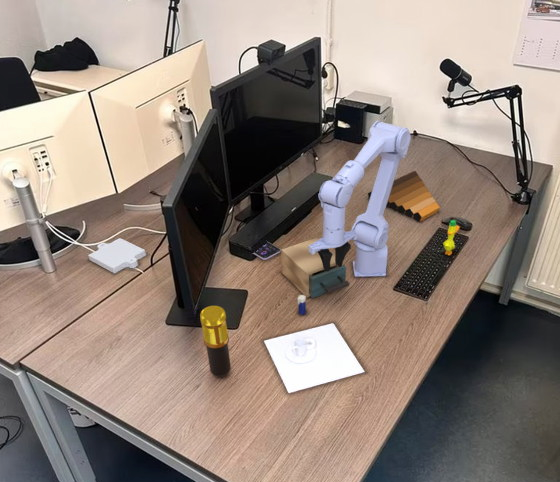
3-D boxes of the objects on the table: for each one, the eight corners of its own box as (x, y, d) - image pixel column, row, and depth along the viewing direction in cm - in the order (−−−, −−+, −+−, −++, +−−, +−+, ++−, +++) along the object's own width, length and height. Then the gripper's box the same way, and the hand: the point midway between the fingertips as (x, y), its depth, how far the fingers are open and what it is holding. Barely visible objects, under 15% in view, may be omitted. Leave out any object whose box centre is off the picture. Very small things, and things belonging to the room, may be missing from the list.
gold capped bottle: (185, 395, 134) (172, 332, 121) (219, 362, 142) (210, 301, 130) (203, 405, 131) (192, 342, 119) (237, 371, 139) (230, 309, 127)
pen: (307, 313, 156) (307, 297, 153) (300, 316, 155) (299, 300, 152) (303, 309, 158) (303, 293, 154) (296, 312, 157) (296, 296, 153)
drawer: (354, 294, 161) (355, 274, 157) (321, 307, 157) (321, 287, 152) (320, 263, 173) (320, 245, 169) (289, 275, 169) (288, 256, 165)
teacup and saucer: (312, 339, 148) (312, 328, 145) (323, 359, 142) (324, 347, 139) (281, 347, 146) (280, 336, 143) (291, 367, 140) (291, 356, 137)
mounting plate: (151, 257, 181) (150, 252, 180) (119, 276, 174) (118, 271, 172) (116, 240, 190) (115, 235, 189) (84, 257, 183) (83, 252, 181)
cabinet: (342, 283, 166) (343, 259, 161) (306, 297, 162) (306, 273, 156) (316, 260, 176) (316, 237, 171) (282, 272, 172) (281, 249, 166)
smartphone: (252, 233, 190) (282, 250, 181) (252, 234, 190) (282, 251, 181) (235, 241, 186) (264, 259, 177) (235, 243, 186) (264, 260, 177)
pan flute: (410, 177, 220) (367, 198, 207) (411, 169, 217) (367, 189, 205) (464, 198, 204) (421, 222, 192) (465, 190, 202) (422, 213, 190)
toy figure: (448, 246, 180) (454, 213, 172) (458, 250, 178) (465, 217, 171) (438, 255, 176) (444, 222, 169) (448, 259, 174) (454, 226, 167)
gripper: (347, 211, 152) (345, 253, 160) (302, 226, 147) (302, 268, 155) (363, 222, 147) (360, 264, 156) (316, 237, 142) (316, 281, 150)
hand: (332, 267), depth 155 cm, fingers open, 3 cm apart
